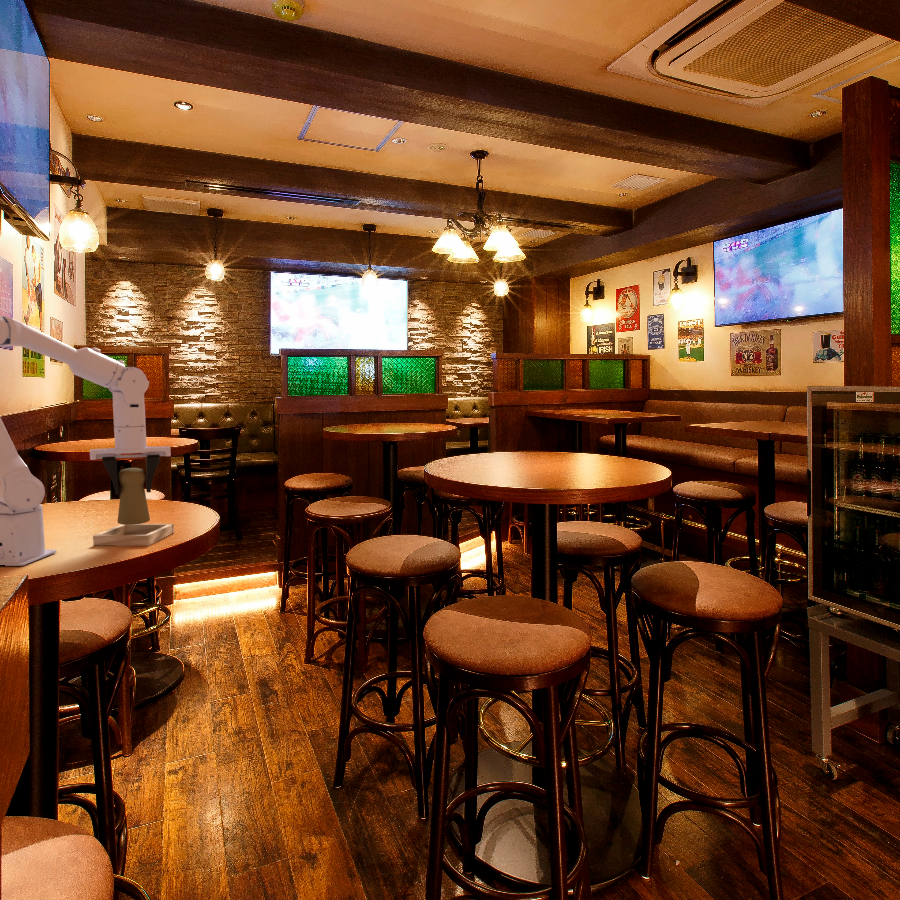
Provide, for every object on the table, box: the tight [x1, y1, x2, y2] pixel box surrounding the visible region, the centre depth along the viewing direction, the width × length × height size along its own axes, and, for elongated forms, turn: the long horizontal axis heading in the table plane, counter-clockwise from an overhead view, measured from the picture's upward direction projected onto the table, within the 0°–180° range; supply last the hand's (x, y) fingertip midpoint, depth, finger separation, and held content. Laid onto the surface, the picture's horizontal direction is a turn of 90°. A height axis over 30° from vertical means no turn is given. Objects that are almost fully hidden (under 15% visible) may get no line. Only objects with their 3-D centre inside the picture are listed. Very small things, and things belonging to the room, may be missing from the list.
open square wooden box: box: [92, 523, 175, 547], centre depth 127 cm, size 11×11×2 cm
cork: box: [117, 467, 151, 525], centre depth 127 cm, size 6×6×11 cm
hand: (133, 492), depth 126 cm, fingers closed on cork, 5 cm apart
